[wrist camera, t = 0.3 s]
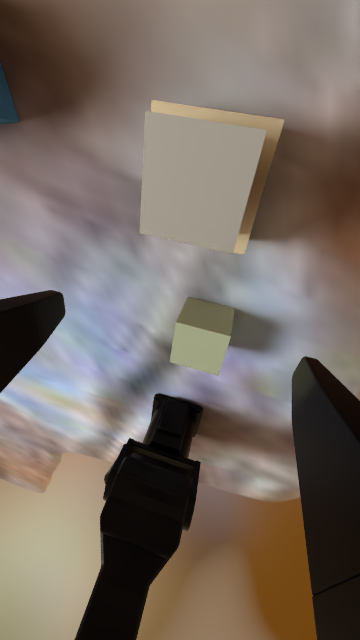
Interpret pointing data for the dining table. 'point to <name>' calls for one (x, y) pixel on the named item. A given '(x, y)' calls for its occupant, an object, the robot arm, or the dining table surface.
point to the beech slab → (265, 157)
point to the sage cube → (202, 335)
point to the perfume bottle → (6, 102)
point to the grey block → (197, 179)
